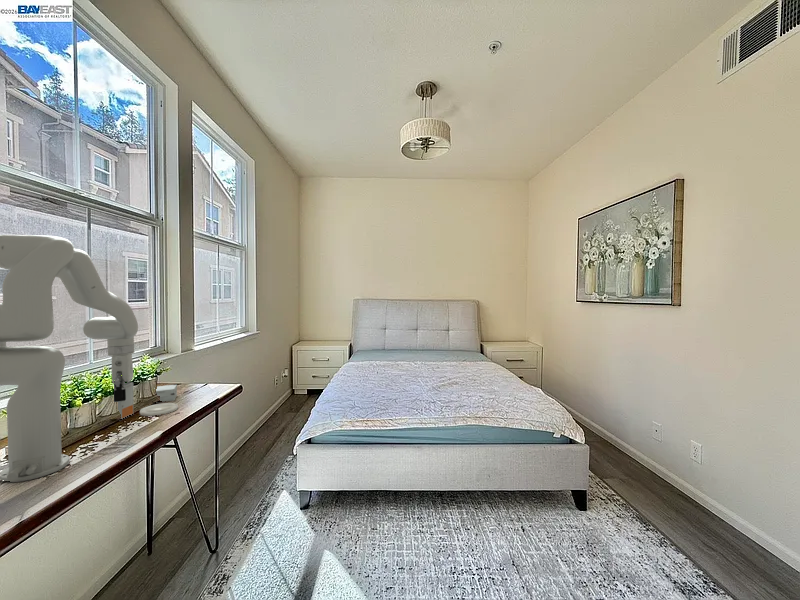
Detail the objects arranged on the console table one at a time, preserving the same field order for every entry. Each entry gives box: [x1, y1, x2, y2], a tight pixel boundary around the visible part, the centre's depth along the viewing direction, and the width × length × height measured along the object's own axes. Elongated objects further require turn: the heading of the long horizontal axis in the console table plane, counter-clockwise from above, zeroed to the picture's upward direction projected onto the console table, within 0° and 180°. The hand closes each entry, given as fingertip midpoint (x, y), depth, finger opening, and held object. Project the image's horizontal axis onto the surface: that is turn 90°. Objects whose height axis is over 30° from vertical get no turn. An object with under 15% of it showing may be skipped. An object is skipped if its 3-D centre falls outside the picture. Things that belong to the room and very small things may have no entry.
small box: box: [156, 384, 178, 403], centre depth 150 cm, size 8×8×5 cm
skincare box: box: [118, 381, 134, 420], centre depth 129 cm, size 6×4×12 cm
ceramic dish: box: [139, 402, 179, 417], centre depth 136 cm, size 12×12×1 cm
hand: (122, 396), depth 129 cm, fingers open, 9 cm apart
